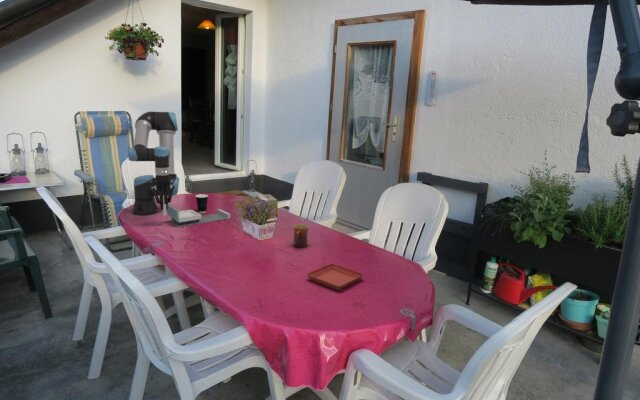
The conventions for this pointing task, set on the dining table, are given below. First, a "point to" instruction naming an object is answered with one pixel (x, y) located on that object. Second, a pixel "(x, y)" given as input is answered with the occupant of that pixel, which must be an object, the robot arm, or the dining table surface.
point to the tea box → (269, 200)
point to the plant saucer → (334, 276)
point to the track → (205, 218)
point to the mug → (300, 235)
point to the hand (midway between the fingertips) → (164, 214)
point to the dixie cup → (202, 203)
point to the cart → (183, 215)
